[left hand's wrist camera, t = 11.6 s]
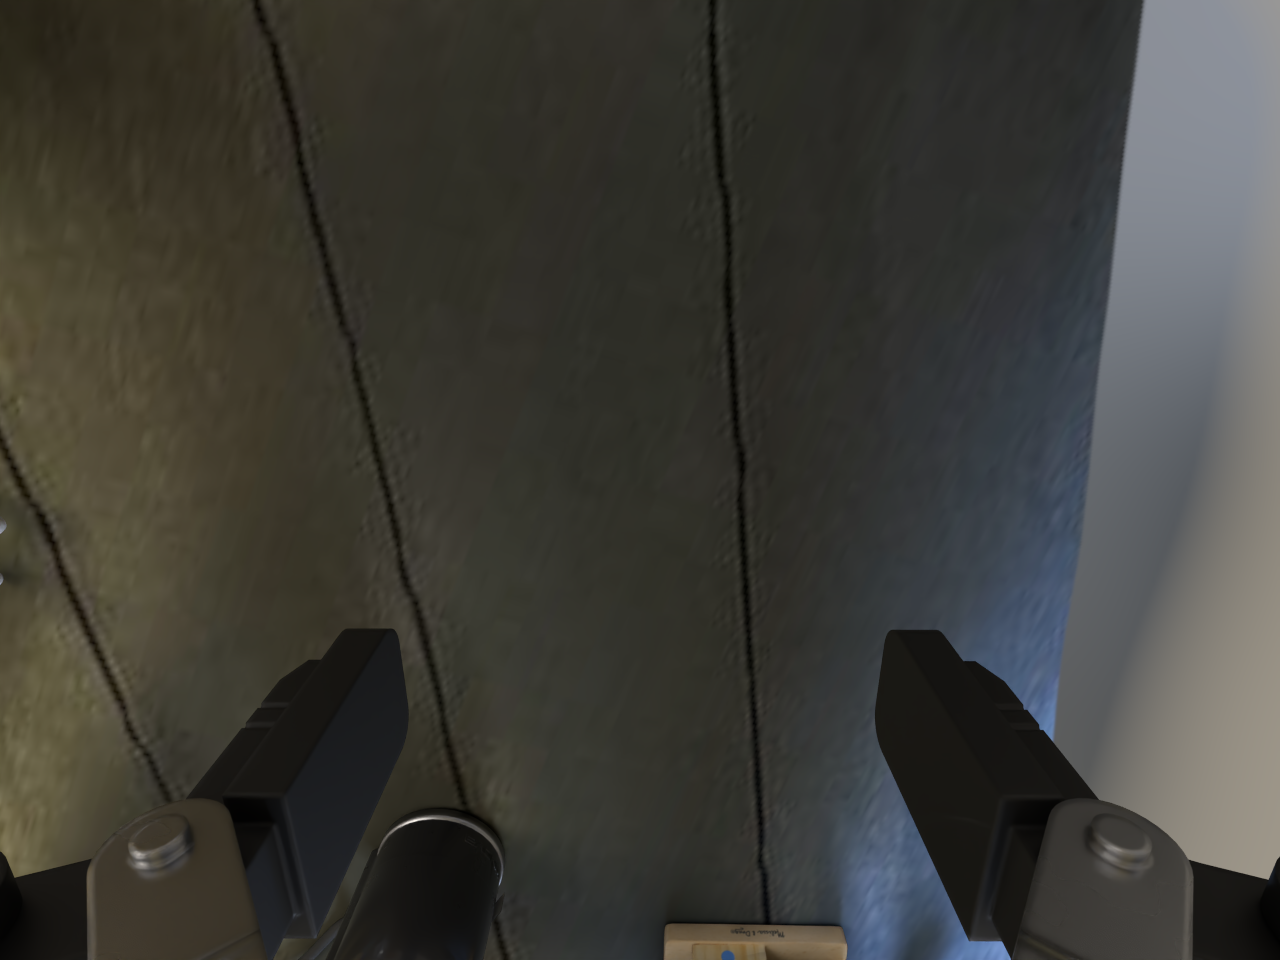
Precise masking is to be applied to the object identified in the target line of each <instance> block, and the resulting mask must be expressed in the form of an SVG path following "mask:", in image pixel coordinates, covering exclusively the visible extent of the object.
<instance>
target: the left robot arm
mask: <svg viewBox="0 0 1280 960" xmlns="http://www.w3.org/2000/svg"><path fill="white" fill-rule="evenodd" d="M261 704H262V705H261V708H257V710H256V711H255V712H254V713H253V715H252V716H251V717H250V718H249V720H248V721H247V722H246V727H245V728H242V729H241V730H240V731H239V732H238V734H237V735H236V736H235V737H234V739H233V740H232V741H231V742H230V744H229V745H228V746H227V748H226V749H225V750H224V751H223V753H222V754H221V755H220V756H219V758H218V759H217V760H216V761H215V763H214V764H213V765H212V766H211V768H210V769H209V770H208V772H207V773H206V774H205V775H204V777H203V778H202V779H201V780H200V782H199V783H198V784H197V785H196V787H195V788H194V789H193V790H192V792H191V793H190V794H189V796H188V797H187V798H186V799H184V800H179V801H175V802H171V803H168V804H165V805H162V806H159V807H156V808H154V809H152V810H150V811H147V812H145V813H143V814H142V815H140V816H138V817H136V818H134V819H133V820H131V821H130V822H128V823H127V824H125V825H124V826H122V827H121V828H120V829H119V830H117V831H116V832H115V833H114V834H112V835H111V836H110V837H109V838H108V839H107V840H106V841H105V842H104V843H103V844H102V846H101V847H100V848H99V849H98V851H97V852H96V853H95V855H94V857H93V858H92V859H89V860H85V861H81V862H77V863H73V864H69V865H65V866H61V867H57V868H53V869H49V870H45V871H41V872H37V873H32V874H28V875H24V876H20V877H16V878H14V876H13V873H12V871H11V868H10V866H9V864H8V861H7V859H6V857H5V856H4V855H3V853H2V852H0V960H273V958H274V956H275V954H276V952H277V950H278V948H279V946H280V944H281V942H282V940H283V938H316V937H317V935H318V933H319V931H320V929H321V926H322V924H323V922H324V920H325V918H326V915H327V913H328V911H329V909H330V907H331V904H332V902H333V900H334V898H335V896H336V893H337V891H338V889H339V887H340V885H341V882H342V880H343V878H344V876H345V874H346V871H347V869H348V867H349V865H350V863H351V860H352V858H353V856H354V854H355V852H356V849H357V847H358V845H359V843H360V841H361V838H362V836H363V834H364V832H365V830H366V827H367V825H368V823H369V821H370V819H371V816H372V814H373V812H374V810H375V808H376V805H377V803H378V801H379V799H380V797H381V794H382V792H383V790H384V788H385V786H386V783H387V781H388V779H389V777H390V775H391V772H392V770H393V768H394V766H395V764H396V761H397V759H398V757H399V755H400V753H401V750H402V748H403V745H404V742H405V739H406V734H407V728H408V715H409V713H408V702H407V694H406V687H405V680H404V673H403V666H402V659H401V651H400V644H399V639H398V635H397V633H396V631H395V630H394V629H345V630H344V631H342V632H341V634H340V635H339V636H338V638H337V639H336V640H335V642H334V643H333V644H332V646H331V647H330V649H329V650H328V651H327V653H326V654H325V655H324V657H323V658H322V659H321V660H308V661H307V662H305V663H304V664H302V665H301V666H299V667H298V668H297V669H295V670H294V671H292V672H291V673H289V674H288V675H286V676H285V677H284V678H282V679H281V680H280V681H279V682H278V683H277V684H276V686H275V687H274V688H273V689H272V691H271V692H270V693H269V695H268V696H267V697H266V698H265V700H264V701H263V702H262V703H261ZM875 725H876V733H877V738H878V742H879V745H880V748H881V750H882V753H883V755H884V757H885V759H886V761H887V764H888V766H889V768H890V770H891V772H892V774H893V777H894V779H895V781H896V783H897V785H898V787H899V790H900V792H901V794H902V796H903V798H904V801H905V803H906V805H907V807H908V809H909V811H910V814H911V816H912V818H913V820H914V822H915V824H916V827H917V829H918V831H919V833H920V835H921V838H922V840H923V842H924V844H925V846H926V848H927V851H928V853H929V855H930V857H931V859H932V861H933V864H934V866H935V868H936V870H937V872H938V874H939V877H940V879H941V881H942V883H943V885H944V888H945V890H946V892H947V894H948V896H949V898H950V901H951V903H952V905H953V907H954V909H955V911H956V914H957V916H958V918H959V920H960V922H961V924H962V927H963V929H964V931H965V933H966V935H967V938H968V940H969V941H1002V942H1003V944H1004V946H1005V948H1006V950H1007V952H1008V954H1009V956H1010V958H1011V960H1280V857H1279V858H1278V859H1277V861H1276V864H1275V866H1274V868H1273V871H1272V873H1271V875H1270V878H1269V880H1267V879H1263V878H1259V877H1255V876H1251V875H1247V874H1243V873H1238V872H1234V871H1230V870H1226V869H1222V868H1218V867H1214V866H1210V865H1206V864H1202V863H1198V862H1195V861H1191V860H1188V859H1187V857H1186V855H1185V854H1184V852H1183V851H1182V849H1181V848H1180V847H1179V846H1178V844H1177V843H1176V842H1175V841H1174V840H1173V839H1172V838H1171V837H1170V836H1169V835H1168V834H1166V833H1165V832H1164V831H1163V830H1161V829H1160V828H1159V827H1158V826H1156V825H1155V824H1153V823H1152V822H1150V821H1149V820H1147V819H1146V818H1144V817H1142V816H1140V815H1138V814H1136V813H1135V812H1133V811H1130V810H1128V809H1126V808H1124V807H1121V806H1118V805H1115V804H1112V803H1109V802H1105V801H1101V800H1099V799H1098V798H1097V797H1096V795H1095V794H1094V793H1093V792H1092V790H1091V789H1090V788H1089V787H1088V785H1087V784H1086V783H1085V782H1084V780H1083V779H1082V778H1081V777H1080V776H1079V774H1078V773H1077V772H1076V770H1075V769H1074V768H1073V767H1072V765H1071V764H1070V763H1069V762H1068V760H1067V759H1066V758H1065V757H1064V755H1063V754H1062V753H1061V752H1060V750H1059V749H1058V748H1057V747H1056V745H1055V744H1054V743H1053V742H1052V740H1051V739H1050V738H1049V737H1048V735H1047V734H1046V733H1045V732H1044V730H1040V729H1039V724H1038V723H1037V722H1036V720H1035V719H1034V718H1033V717H1032V715H1031V714H1030V713H1029V712H1028V710H1024V708H1023V704H1022V703H1021V702H1020V700H1019V699H1018V698H1017V697H1016V695H1015V694H1014V693H1013V692H1012V690H1011V689H1010V688H1009V687H1008V685H1007V684H1006V683H1005V682H1004V681H1003V680H1002V679H1000V678H999V677H997V676H996V675H994V674H993V673H991V672H990V671H989V670H987V669H986V668H984V667H983V666H981V665H980V664H978V663H977V662H976V661H963V660H962V659H961V658H960V656H959V655H958V654H957V652H956V651H955V650H954V648H953V647H952V645H951V644H950V643H949V641H948V640H947V639H946V637H945V636H944V635H943V634H942V632H940V631H938V630H891V631H889V632H888V634H887V636H886V639H885V644H884V650H883V657H882V665H881V672H880V679H879V686H878V693H877V700H876V707H875ZM504 866H505V853H504V849H503V846H502V844H501V842H500V840H499V838H498V837H497V836H496V834H495V833H494V832H493V831H492V830H491V829H490V828H489V827H488V826H487V825H485V824H484V823H483V822H481V821H480V820H478V819H476V818H474V817H472V816H470V815H468V814H465V813H462V812H459V811H454V810H449V809H425V810H420V811H416V812H413V813H410V814H408V815H406V816H404V817H402V818H400V819H399V820H397V821H396V822H395V823H394V824H392V826H391V827H390V828H389V829H388V830H387V832H386V833H385V835H384V838H383V840H382V842H381V845H380V847H379V848H378V849H376V850H373V851H372V853H371V855H370V857H369V860H368V862H367V864H366V867H365V869H364V871H363V874H362V876H361V878H360V881H359V883H358V885H357V888H356V890H355V892H354V895H353V897H352V899H351V902H350V904H349V906H348V909H347V911H346V913H345V916H344V918H342V919H340V920H338V921H337V922H336V923H334V924H333V925H332V926H331V927H330V928H329V929H328V930H327V931H326V932H325V933H324V934H323V935H322V936H321V937H320V938H319V940H318V941H317V942H316V943H315V944H314V945H313V946H312V947H311V948H310V949H309V950H308V951H307V952H306V953H305V954H304V955H303V956H302V957H300V958H299V959H298V960H314V959H315V958H316V957H317V956H318V955H319V954H320V953H321V952H322V950H323V949H324V948H325V947H326V946H327V945H328V944H329V943H330V942H331V941H332V940H333V939H334V938H335V939H334V941H333V944H332V946H331V948H330V951H329V953H328V955H327V958H326V960H483V958H484V953H485V949H486V944H487V939H488V934H489V930H490V925H491V922H492V921H493V920H494V919H495V918H496V917H497V915H498V914H499V913H500V912H501V909H502V904H503V899H504V894H505V893H504V894H503V895H502V896H501V897H500V899H499V900H498V901H497V902H496V897H497V892H498V887H499V885H500V882H501V879H502V875H503V871H504ZM495 902H496V903H495Z"/></svg>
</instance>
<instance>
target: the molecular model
mask: <svg viewBox="0 0 1280 960" xmlns="http://www.w3.org/2000/svg"><path fill="white" fill-rule="evenodd" d="M5 528H6V522H5V520H4V519H3V518H1V517H0V533H2V532H3V531H4V530H5ZM2 582H3V575H2V574H1V573H0V585H1V583H2Z"/></svg>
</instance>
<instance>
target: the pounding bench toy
mask: <svg viewBox="0 0 1280 960" xmlns="http://www.w3.org/2000/svg"><path fill="white" fill-rule="evenodd" d="M846 956H847V942H846V939H845V936H844V932H843V929H842V927H839V926H793V925H738V924H673V923H672V924H667V925H666V927H665V933H664V960H846Z"/></svg>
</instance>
